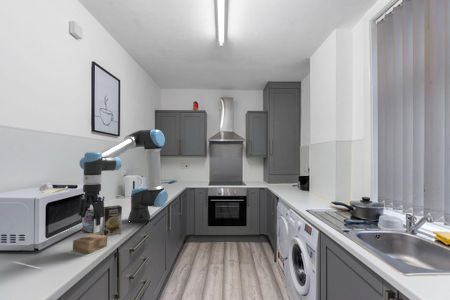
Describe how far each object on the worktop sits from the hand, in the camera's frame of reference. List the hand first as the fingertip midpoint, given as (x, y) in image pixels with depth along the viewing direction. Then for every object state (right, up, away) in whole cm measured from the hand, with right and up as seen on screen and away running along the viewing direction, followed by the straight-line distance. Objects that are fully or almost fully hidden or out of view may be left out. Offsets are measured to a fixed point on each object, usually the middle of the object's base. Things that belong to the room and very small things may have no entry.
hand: (90, 231), depth 105 cm
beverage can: (0, -1, 0) cm, 1 cm away
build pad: (0, -9, 0) cm, 9 cm away
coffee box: (-1, -10, +21) cm, 23 cm away
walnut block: (0, -8, 0) cm, 8 cm away
